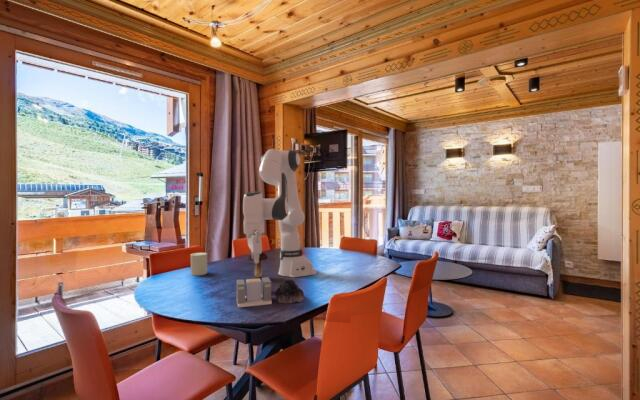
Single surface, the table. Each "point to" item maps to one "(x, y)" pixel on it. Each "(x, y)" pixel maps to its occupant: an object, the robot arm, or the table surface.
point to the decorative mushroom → (258, 264)
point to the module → (253, 289)
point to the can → (198, 263)
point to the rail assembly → (264, 300)
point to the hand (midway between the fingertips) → (255, 260)
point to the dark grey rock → (289, 292)
